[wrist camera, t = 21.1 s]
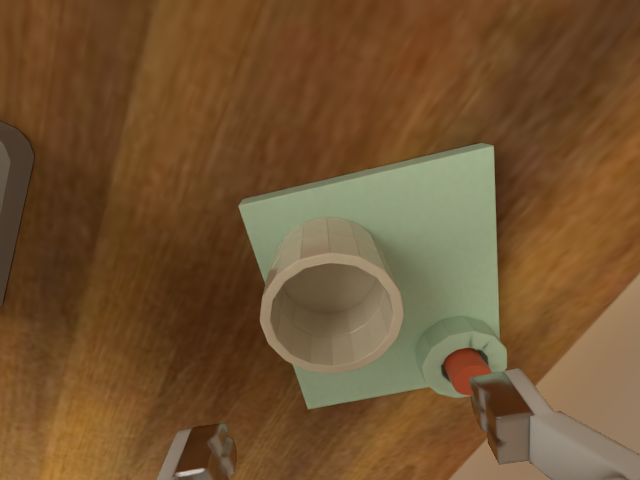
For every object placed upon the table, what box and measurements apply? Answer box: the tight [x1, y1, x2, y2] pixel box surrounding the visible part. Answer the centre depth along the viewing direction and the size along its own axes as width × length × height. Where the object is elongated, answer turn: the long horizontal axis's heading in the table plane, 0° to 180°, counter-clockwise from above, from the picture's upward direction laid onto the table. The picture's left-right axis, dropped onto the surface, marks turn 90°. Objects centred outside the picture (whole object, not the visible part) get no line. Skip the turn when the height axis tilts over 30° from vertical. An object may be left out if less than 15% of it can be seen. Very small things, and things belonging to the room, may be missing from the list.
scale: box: [238, 143, 507, 409], centre depth 21 cm, size 16×14×3 cm
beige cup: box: [260, 217, 404, 374], centre depth 18 cm, size 7×7×5 cm
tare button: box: [444, 348, 492, 395], centre depth 21 cm, size 2×2×2 cm
